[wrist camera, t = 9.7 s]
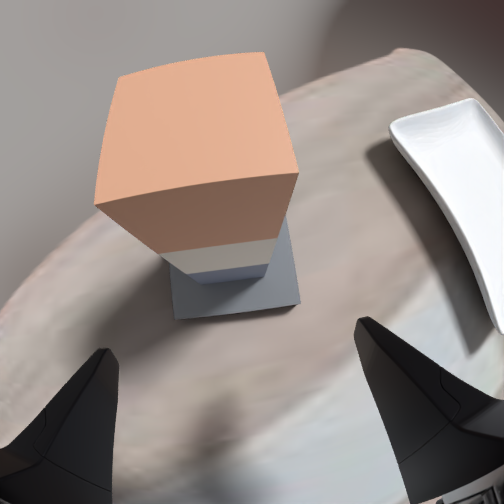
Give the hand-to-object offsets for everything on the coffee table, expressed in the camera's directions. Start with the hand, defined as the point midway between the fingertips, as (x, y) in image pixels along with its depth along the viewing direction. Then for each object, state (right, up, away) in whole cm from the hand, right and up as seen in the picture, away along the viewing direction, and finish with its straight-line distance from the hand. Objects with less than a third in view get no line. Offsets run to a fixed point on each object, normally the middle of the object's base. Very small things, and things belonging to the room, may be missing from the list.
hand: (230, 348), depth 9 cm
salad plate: (+26, +9, +12) cm, 30 cm away
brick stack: (-1, +3, +9) cm, 9 cm away
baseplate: (-1, +3, +10) cm, 10 cm away
